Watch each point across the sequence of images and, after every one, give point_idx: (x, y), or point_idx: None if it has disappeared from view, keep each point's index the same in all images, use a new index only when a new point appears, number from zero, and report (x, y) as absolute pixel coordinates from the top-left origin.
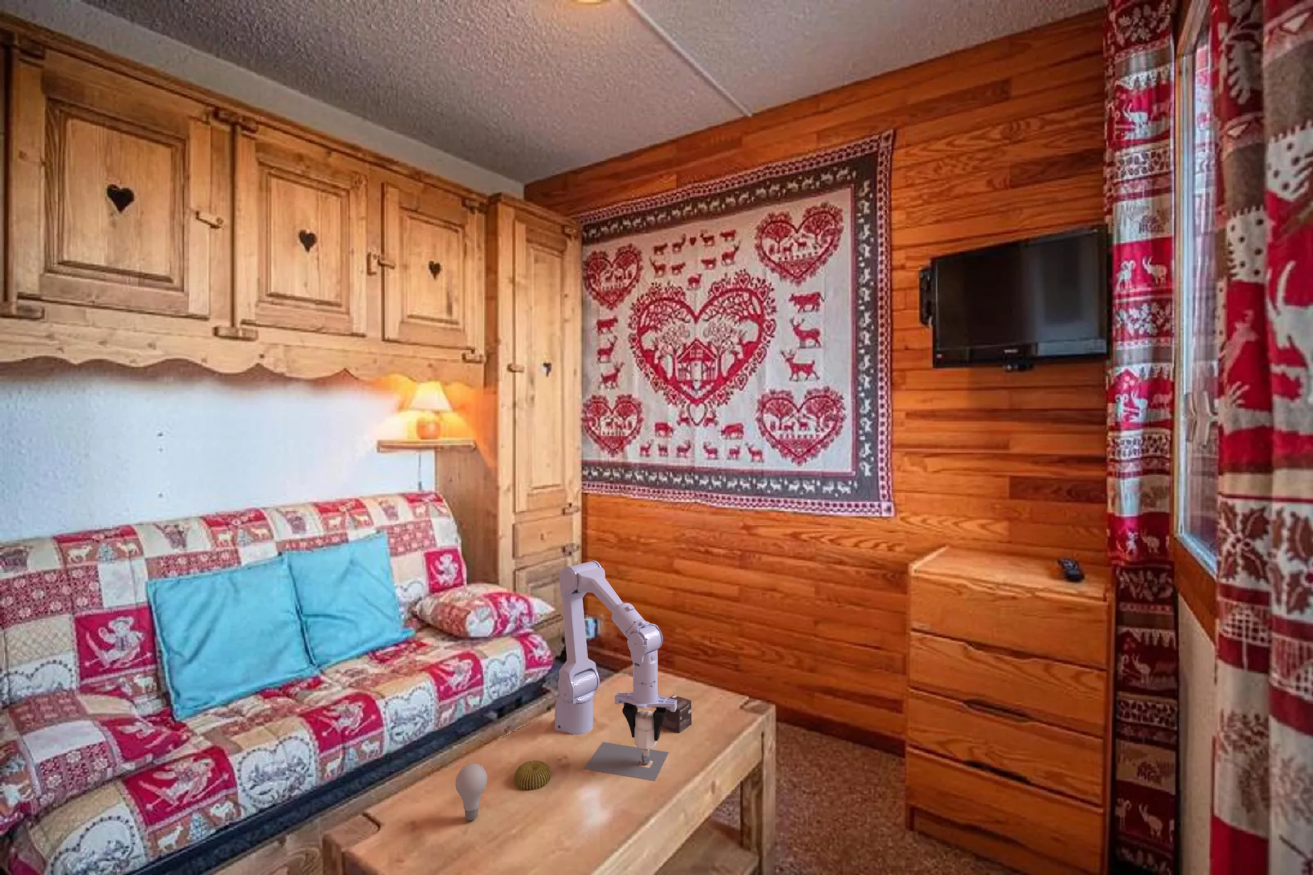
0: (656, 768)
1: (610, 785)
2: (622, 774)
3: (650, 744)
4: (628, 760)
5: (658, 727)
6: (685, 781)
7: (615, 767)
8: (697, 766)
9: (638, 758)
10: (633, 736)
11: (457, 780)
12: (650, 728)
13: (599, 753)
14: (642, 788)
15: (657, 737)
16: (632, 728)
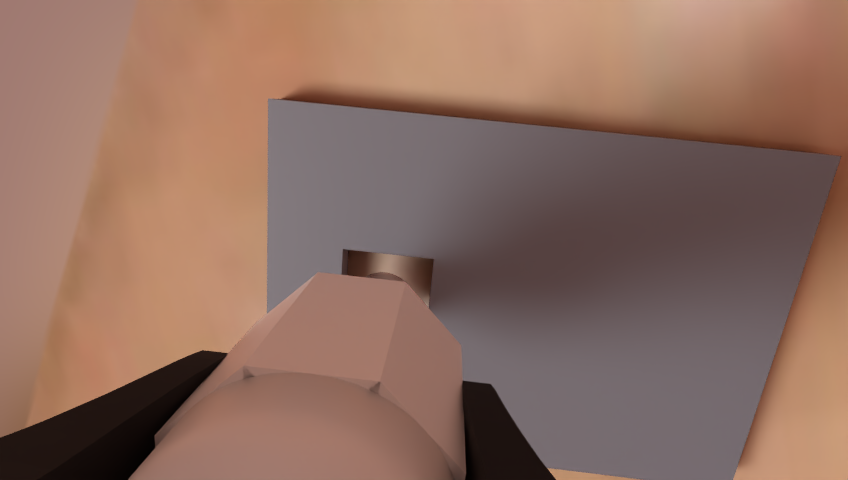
0: (297, 248)
1: (590, 40)
2: (521, 135)
3: (274, 311)
4: (510, 311)
5: (20, 435)
6: (105, 181)
7: (590, 215)
8: (86, 343)
9: None
10: (474, 386)
11: None
12: (177, 423)
13: (736, 362)
14: (355, 49)
15: (168, 368)
16: (490, 441)
